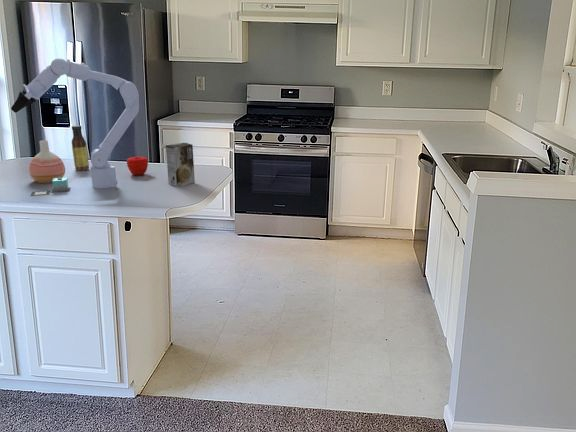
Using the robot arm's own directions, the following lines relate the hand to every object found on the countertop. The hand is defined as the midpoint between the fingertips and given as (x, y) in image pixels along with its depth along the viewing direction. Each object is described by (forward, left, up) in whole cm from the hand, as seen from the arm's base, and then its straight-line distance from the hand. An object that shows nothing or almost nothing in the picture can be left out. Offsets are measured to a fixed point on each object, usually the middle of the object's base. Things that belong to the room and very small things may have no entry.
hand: (14, 109), depth 205 cm
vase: (-7, -16, -32) cm, 36 cm away
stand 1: (-6, +5, -32) cm, 33 cm away
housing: (-13, +2, -31) cm, 33 cm away
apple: (-43, -22, -32) cm, 58 cm away
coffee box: (-59, 0, -32) cm, 67 cm away
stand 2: (-13, +2, -32) cm, 34 cm away
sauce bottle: (-19, -41, -32) cm, 55 cm away
